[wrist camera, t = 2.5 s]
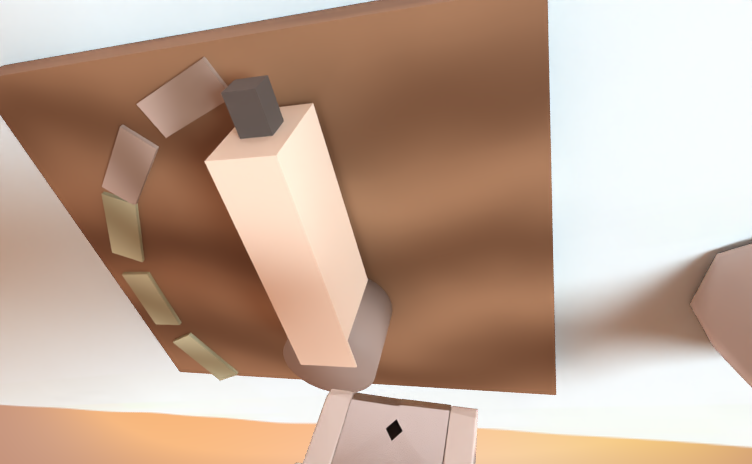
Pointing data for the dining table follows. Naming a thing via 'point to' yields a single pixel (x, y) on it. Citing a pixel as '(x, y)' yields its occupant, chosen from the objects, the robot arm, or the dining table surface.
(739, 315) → the flask
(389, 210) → the board
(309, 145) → the peg lever
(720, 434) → the dining table surface
